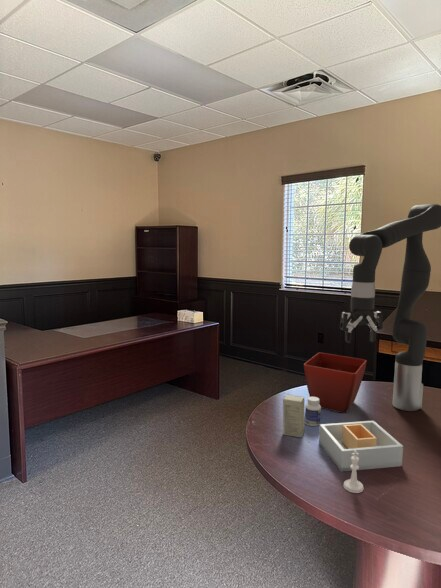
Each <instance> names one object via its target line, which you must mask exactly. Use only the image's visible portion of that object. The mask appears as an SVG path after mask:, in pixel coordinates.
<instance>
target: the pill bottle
mask: <svg viewBox="0 0 441 588" xmlns="http://www.w3.org/2000/svg"><path fill="white" fill-rule="evenodd" d="M306 402H307V403H306V404H305V405H304V424H306V425H307V426H309V425H311V426H310V427H318V426H317V425H319V426H320V424H321V420H322V419H321V418H322V415H321V414H322V408H321V406H320V405H319V398H317V397H310V396H308V397H307V401H306Z"/></svg>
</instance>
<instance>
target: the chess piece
mask: <svg viewBox="0 0 441 588" xmlns="http://www.w3.org/2000/svg"><path fill="white" fill-rule="evenodd" d="M353 455H354V456H353ZM356 455H359V453H357V451H354V453H352V457H351V461H352V465H350V468H352V471H351V475H350V478H349V479H346V480H344V482H343V488H344V489H345V490H346V491H347V492H350V493H353V494H359V493H362V492H363V491H364V484H363V483H362V482H361V481H360V480H358V474H357V473H358V472H357V471H358V470H357V469H359V467H358V465H357V464H358V461H359V458H358V457H356Z"/></svg>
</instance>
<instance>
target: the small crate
mask: <svg viewBox="0 0 441 588" xmlns="http://www.w3.org/2000/svg"><path fill="white" fill-rule="evenodd" d="M342 444H343V445H344V446H345V448H346V449H352V448H364V447H376V444H377V438H376V437H375V436H374V435H373V434H372V433H371V432H370V431H369V430H367V429H366V428H365V427H364V426H363V425H362V424H353V425H343V435H342Z"/></svg>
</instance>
